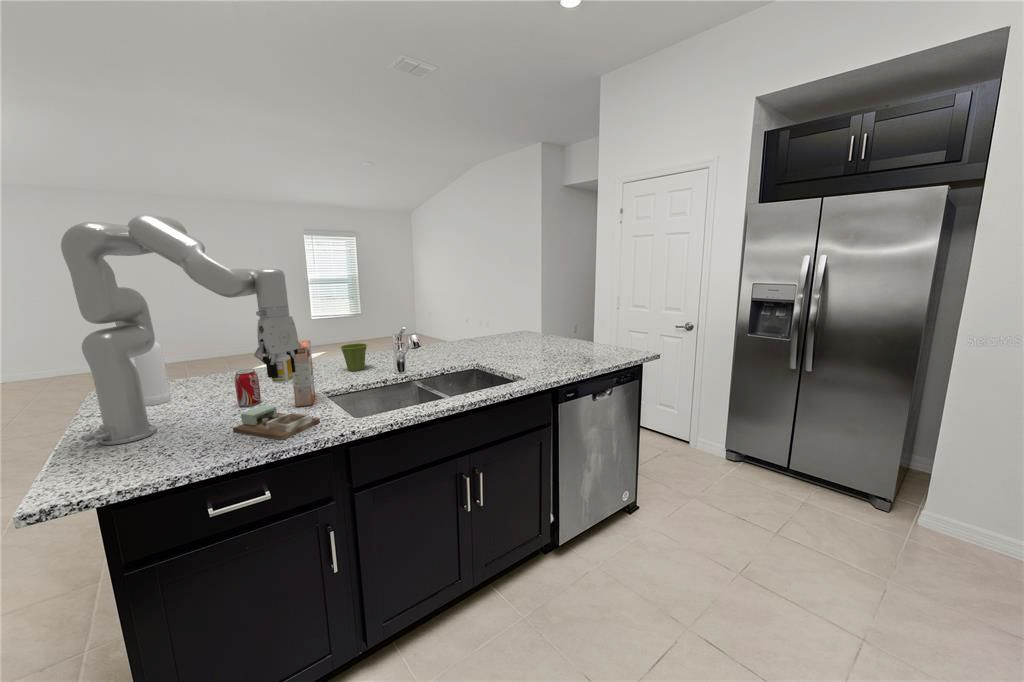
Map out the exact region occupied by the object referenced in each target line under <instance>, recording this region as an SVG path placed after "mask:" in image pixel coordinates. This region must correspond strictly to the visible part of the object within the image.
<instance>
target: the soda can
mask: <svg viewBox="0 0 1024 682" xmlns="http://www.w3.org/2000/svg"><path fill="white" fill-rule="evenodd" d="M258 375H259V374H258V373H257V372H256V370H255V369H254V368H248V369H242V370H238V371H236V372H235V375H234V385H235V392H236V393H235V394H236V400H237V403H238V405H239V406H241V407H253V406H256V405H258V403H260V402H261V399H262V398H261V388H260V380H259V376H258Z"/></svg>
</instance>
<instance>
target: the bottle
mask: <svg viewBox="0 0 1024 682" xmlns="http://www.w3.org/2000/svg"><path fill="white" fill-rule="evenodd" d="M133 358H134V359H133V360H134V366H135V367H136V368H137V370H138V372H139V376H140V380H141V385H142V390H143V396H144V401H145V406H146V407H149V406H151V407H152V406H158V405H162V404H166V403H168V402H170V401H171V392H170V388H169V384H168V383H169V382H168V377H167V371H166V370H167V369H166V365H165V361H164V354H163V349H162V346H161V344H160V343H159V342H158V341H157V340H155V343H154V346H153V348H152V349H151V350H150V351H149V352H147V353H145V354H143V355H140V356H136V357H133Z"/></svg>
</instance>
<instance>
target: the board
mask: <svg viewBox="0 0 1024 682" xmlns="http://www.w3.org/2000/svg"><path fill="white" fill-rule="evenodd" d="M320 423H321V419H320V418H317V417H312V415H309V414H304V413H296V412H288V413H283V412H282V413H281V412H277V414H273V417H270V416H263V417H261V418H258V419H257V425H248V424H242V423H241V424H240V425H237V426H234V427H233V428H232V431H233V433H237V434H238V433H239V434H243V435H249V436H255V437H260V438H265V439H266V438H267V439H273V440H276V441H277V440H278V441H283V440H285V439H287V438H289V437H292V436H294V435H296V434H298V433H300V432H302V431H305V430H307V429H309V428H311V427H313V426H315V425H317V424H320Z"/></svg>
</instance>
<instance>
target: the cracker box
mask: <svg viewBox="0 0 1024 682" xmlns="http://www.w3.org/2000/svg"><path fill="white" fill-rule="evenodd" d="M298 342H299V343H300V344H301V347H300V348H299V350H298V352H297V354H296V358H295V359H294V362H295V371H296V372H294V373H292V374H293V380H292V384H293V385H292V386H293V393H294V395H293V396H294V405H295V408H297V407H306V406H307V407H308V406H313V405H314V401H315V396H316V391H315V379H314V365H313V356H312V355H313V354H312V346H311V340H308V339H307V340H298Z"/></svg>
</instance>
